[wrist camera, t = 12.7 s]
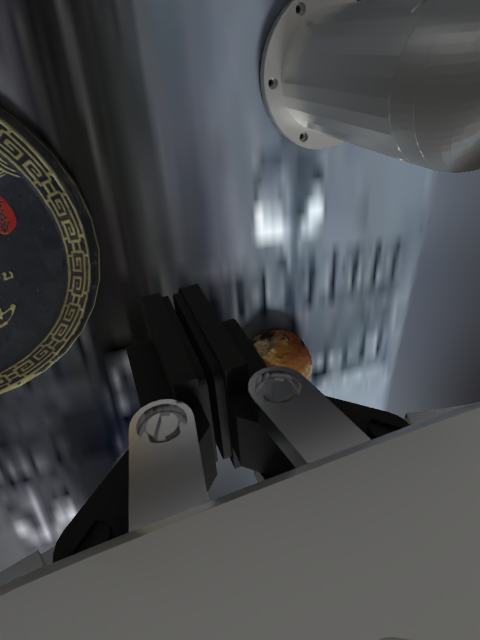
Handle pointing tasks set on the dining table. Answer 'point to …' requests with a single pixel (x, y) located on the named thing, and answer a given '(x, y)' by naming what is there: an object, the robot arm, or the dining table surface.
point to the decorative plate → (40, 255)
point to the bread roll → (283, 351)
